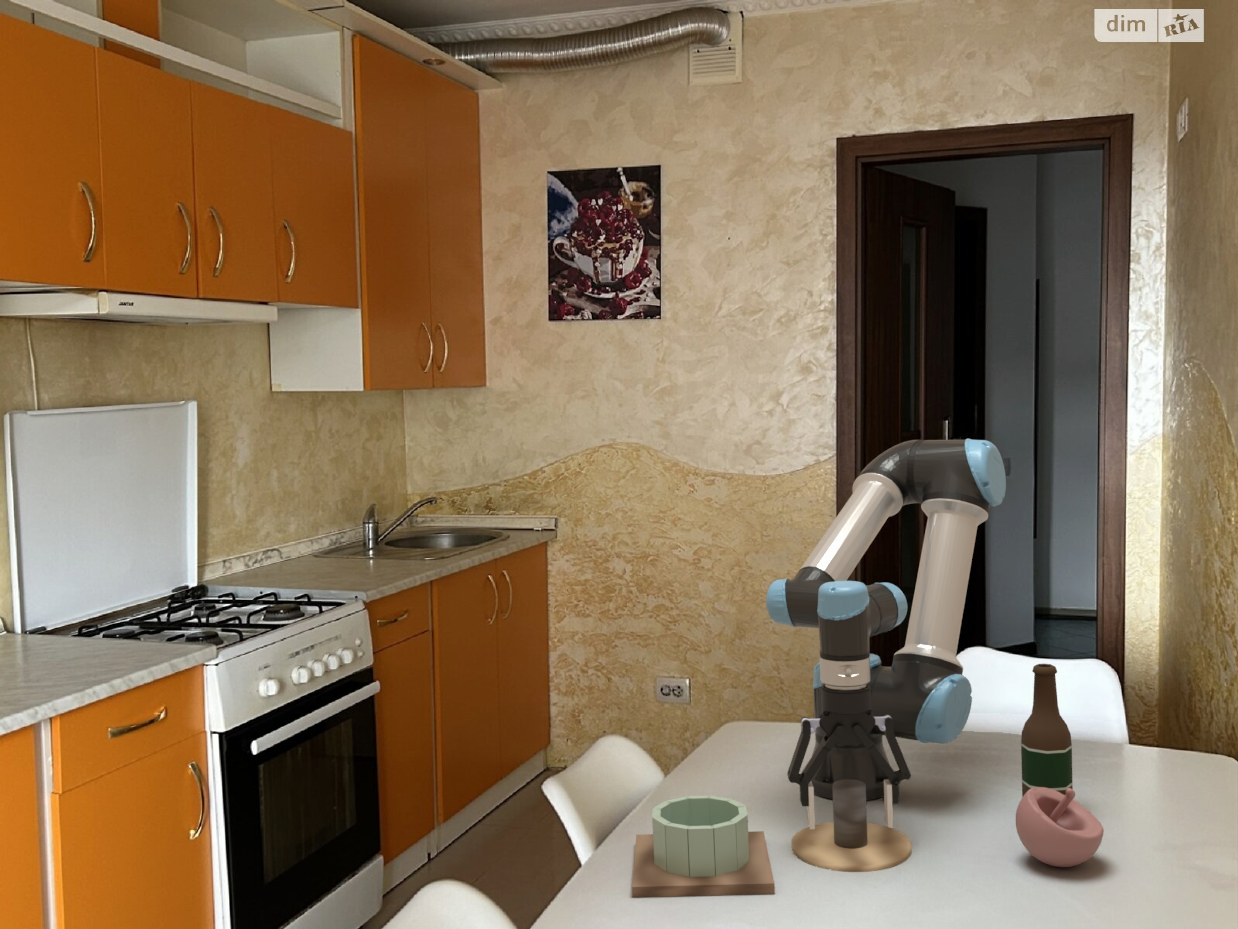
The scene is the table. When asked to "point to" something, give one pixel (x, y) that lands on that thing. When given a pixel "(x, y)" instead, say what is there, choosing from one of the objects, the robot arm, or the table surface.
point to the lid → (851, 836)
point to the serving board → (740, 882)
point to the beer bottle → (1046, 738)
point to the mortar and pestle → (1057, 827)
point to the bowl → (700, 836)
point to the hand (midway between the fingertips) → (850, 825)
